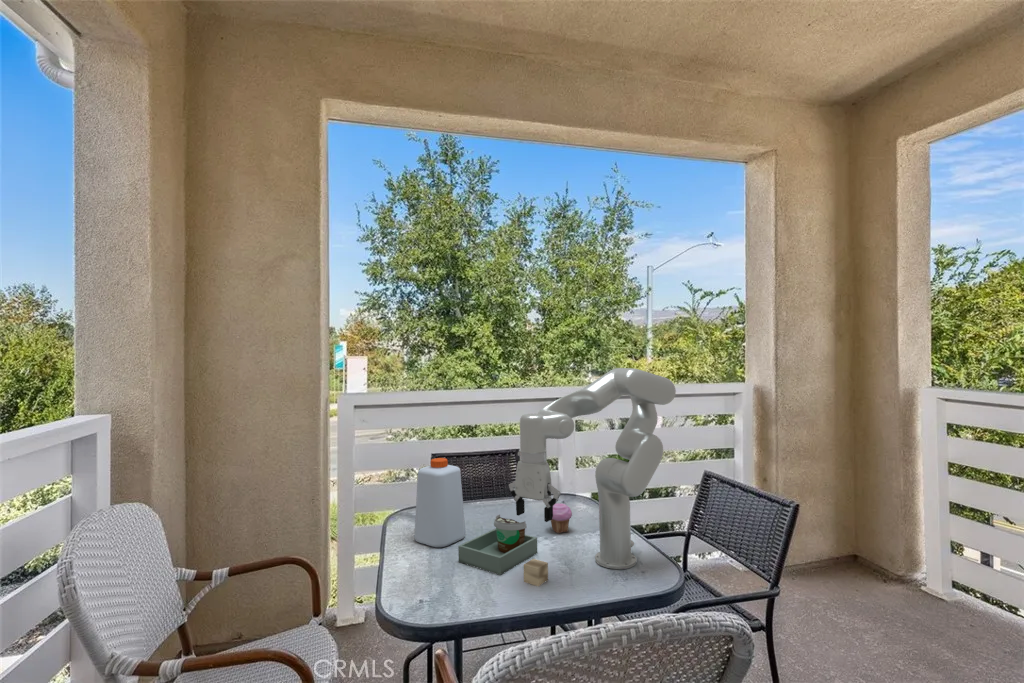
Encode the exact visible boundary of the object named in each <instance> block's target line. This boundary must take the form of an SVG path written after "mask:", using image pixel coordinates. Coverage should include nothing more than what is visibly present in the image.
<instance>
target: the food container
mask: <svg viewBox="0 0 1024 683" xmlns="http://www.w3.org/2000/svg"><path fill="white" fill-rule="evenodd" d="M493 526H494V527H495V528H496V532H497V542H498V550H499V551H500V552H502V553H507V552H509V551H510V550H512V549H514V548H516V547H518V546H520V545H521V544H523V543H524V539H525V535H526V529H527V523H526V521H525V520H524V521H521V522H519V521H517V520H515V519H512V518H504V517H501V514H497V515H496V516H495V518H494V521H493Z"/></svg>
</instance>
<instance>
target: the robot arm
mask: <svg viewBox="0 0 1024 683" xmlns="http://www.w3.org/2000/svg"><path fill="white" fill-rule="evenodd" d="M676 392H677V390H676V386H675V384H674V383H673V381H672V380H670V379H669V378H667V377H665V376H661V375H657V374H655V373H651V372H649V371H646V370H641V369H637V368H633V367H632V368H631V367H629V368H628V367H615V368H613V369H611V370H609V371H608V372H606V373H604V374H602V375H601V376H600V377H598V378H597V379H596V380H594V381H592V382H591V383H589V384H588V385H586V386H584V387H583V388H581V389H579V390H576V391H573V392H571V393H570V394H567V395H564V396H562V397H560V398H558V399H556V400H554V401H552V402H550V403H549V404H548V405H545V407H544V408H542V409H540V410H539V411H538V413H526V414H522V415H521V416H520V419H519V441H520V442H519V443H520V445H519V446H520V448H519V451H518V452H517V457H518V456H519V457H520V458H519V459H520V460H518V462H517V465H516V472H515V480H514V481H513V482H510V483H508V488H509V490H510V494H511V495H512V497H513V500H514V501H515V512H516V514H515V515H516V516H519V517H520V515H524V514H525V508H526V507H525V499H529V500H534V501H542V502H543V504H544V505H545V507H544V508H543V510H544V511H543V512H544V514H543V515H544V516H543V518H544V522H545V523H548V522H551V520H552V518H553V506H554V505H555V504H556V503H558V502H559V499H560V496H561V495H562V491H561V490H558V489H557V488H556V487H555V486H554V485H552V478H551V469H550V464H549V462H548V461H547V460H548V459H547V457H548V456H547V439H554V440H563V439H566V438H568V437H570V436H571V435H572V434H574V430H575V422H574V420H573V418H576V417H580V416H581V417H582V416H589V415H594V414H597V413H600V412H601V411H603V410H604V409H605V408H607V407H608V406H610V405H611V404H612V403H614V402H615V401H617V400H618V399H620V398H621V397H623V396H627V397H630V400H631V406H632V410H631V411H632V412H631V415H630V417H628V418H629V419H628V421H627V422H626V424H625V426H624V427H623V429H622V430H621V433H620V434H619V436H618V437H617V439H616V442H615V447H614V448H615V451H616V453H617V454H618V455H619V456H620V457H621V458H623V459H625V460H629V461H628V462H627V461H625V460H623V459H622V460H621V459H619V458H615V457H607V458H606V457H605V458H603V459H602V460H600V461H599V462H598V463H597V465H596V468H595V475H594V476H595V483H596V488H597V492H598V493H597V496H598V522H599V524H598V526H599V530H598V531H599V552H596V554H595V556H594V558H595V559H594V560H595V563H597V564H598V565H599V566H600V567H604V568H607V569H611V570H624V569H625V570H626V569H630V568H633V567H634V566H636V564H637V557H636V556H635V555H634V554H633V553H632V547H634V546H635V543H634V541H633V540H632V539H631V537H632V536H631V535H632V533H631V502H630V498H634V497H635V498H636V497H638V496H641V494H643V493H644V492H645V490H646V488H647V487H648V485H649V483H650V482H651V480H652V479H653V476H654V475H655V473H656V470H657V469H658V467H659V465H660V463H661V461H662V458H663V455H664V445H663V442H662V439H660V438H659V437H658V436H657V435H655V434H653V433H654V432H655V429H656V428H657V424H658V420H659V418H658V412H657V409H656V405H658V406H661V405H662V406H664V405H668V404H670V403H671V402H672V401H674V399H675V398H676ZM552 496H553V497H552Z"/></svg>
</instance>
